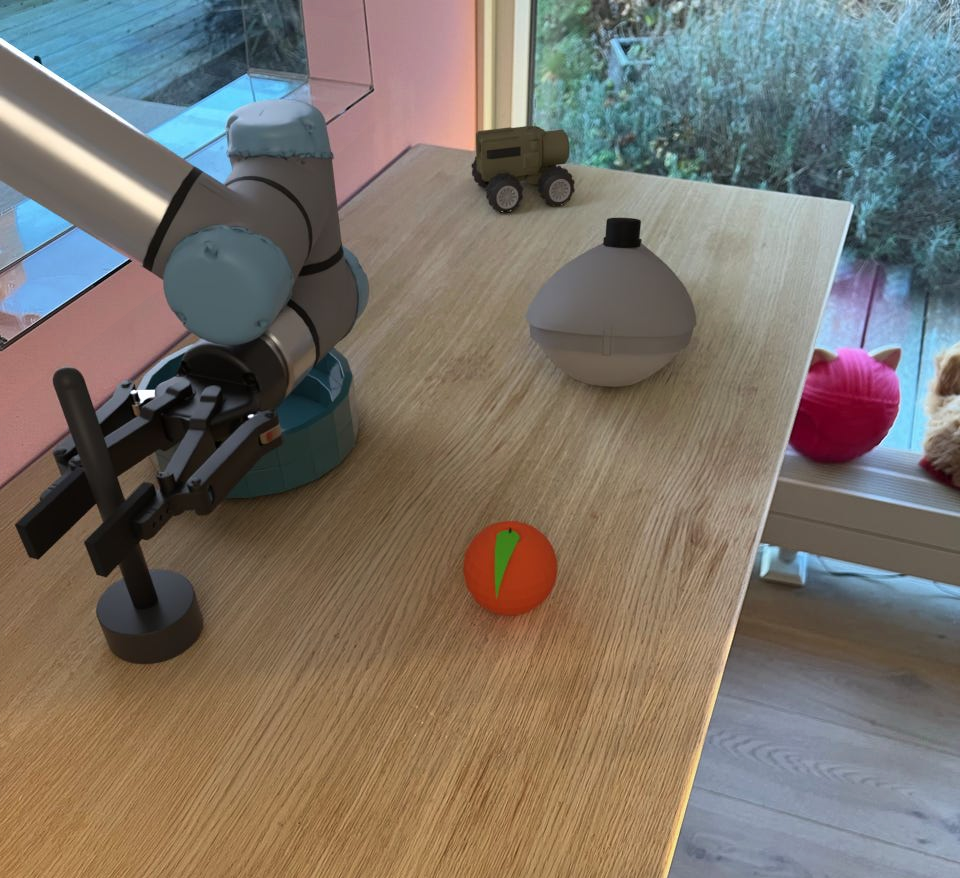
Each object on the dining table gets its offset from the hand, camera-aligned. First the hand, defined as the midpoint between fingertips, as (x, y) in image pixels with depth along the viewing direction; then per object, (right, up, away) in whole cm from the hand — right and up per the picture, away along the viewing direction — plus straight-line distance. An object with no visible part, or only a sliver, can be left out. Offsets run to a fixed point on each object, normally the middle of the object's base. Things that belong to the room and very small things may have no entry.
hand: (61, 550), depth 65 cm
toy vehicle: (+32, +51, +66) cm, 89 cm away
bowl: (+6, +12, +29) cm, 32 cm away
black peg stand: (+2, -5, +12) cm, 13 cm away
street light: (+40, +24, +39) cm, 61 cm away
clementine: (+29, -3, +13) cm, 31 cm away
